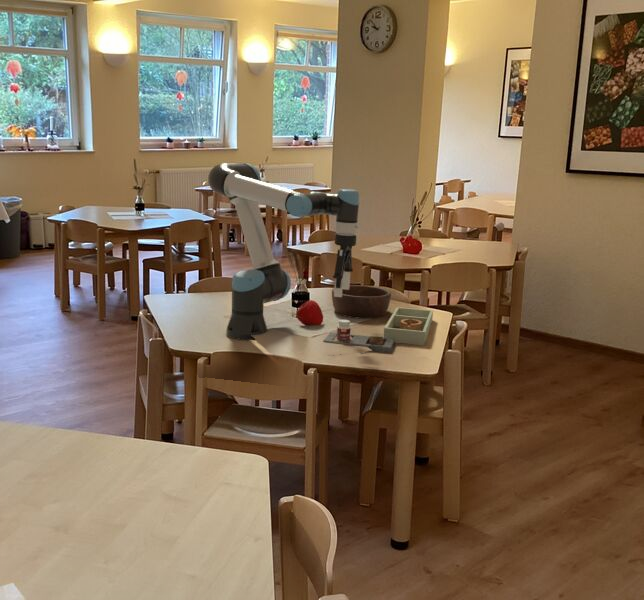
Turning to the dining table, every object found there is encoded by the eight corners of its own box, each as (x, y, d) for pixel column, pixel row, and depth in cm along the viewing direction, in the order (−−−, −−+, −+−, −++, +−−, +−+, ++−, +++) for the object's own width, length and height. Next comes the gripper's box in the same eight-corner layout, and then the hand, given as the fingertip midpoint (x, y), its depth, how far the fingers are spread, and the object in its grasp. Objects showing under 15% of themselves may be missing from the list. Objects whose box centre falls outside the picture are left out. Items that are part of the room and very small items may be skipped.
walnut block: (369, 348, 266) (370, 336, 265) (369, 345, 270) (370, 333, 270) (382, 349, 266) (383, 336, 265) (381, 345, 270) (382, 333, 269)
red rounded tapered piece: (308, 329, 295) (291, 308, 294) (328, 315, 295) (311, 293, 293) (308, 335, 286) (291, 313, 284) (328, 320, 285) (311, 298, 283)
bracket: (420, 342, 287) (421, 325, 286) (398, 340, 289) (399, 323, 287) (423, 330, 304) (424, 313, 303) (403, 328, 306) (404, 312, 304)
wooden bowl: (401, 318, 314) (403, 294, 312) (354, 324, 300) (355, 299, 298) (365, 305, 334) (366, 283, 332) (319, 311, 320) (320, 287, 318)
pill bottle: (340, 345, 268) (341, 322, 266) (334, 342, 272) (335, 319, 270) (351, 344, 270) (353, 322, 268) (346, 341, 274) (347, 318, 272)
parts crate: (383, 341, 276) (384, 328, 275) (395, 318, 311) (396, 307, 310) (424, 345, 273) (425, 332, 272) (432, 322, 308) (433, 310, 307)
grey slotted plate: (323, 345, 266) (323, 340, 266) (330, 337, 278) (330, 332, 277) (390, 352, 261) (390, 347, 261) (394, 344, 273) (395, 338, 272)
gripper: (349, 239, 250) (345, 301, 255) (362, 230, 274) (358, 287, 279) (327, 237, 252) (323, 298, 257) (342, 228, 276) (338, 285, 280)
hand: (341, 293), depth 268 cm, fingers open, 13 cm apart
